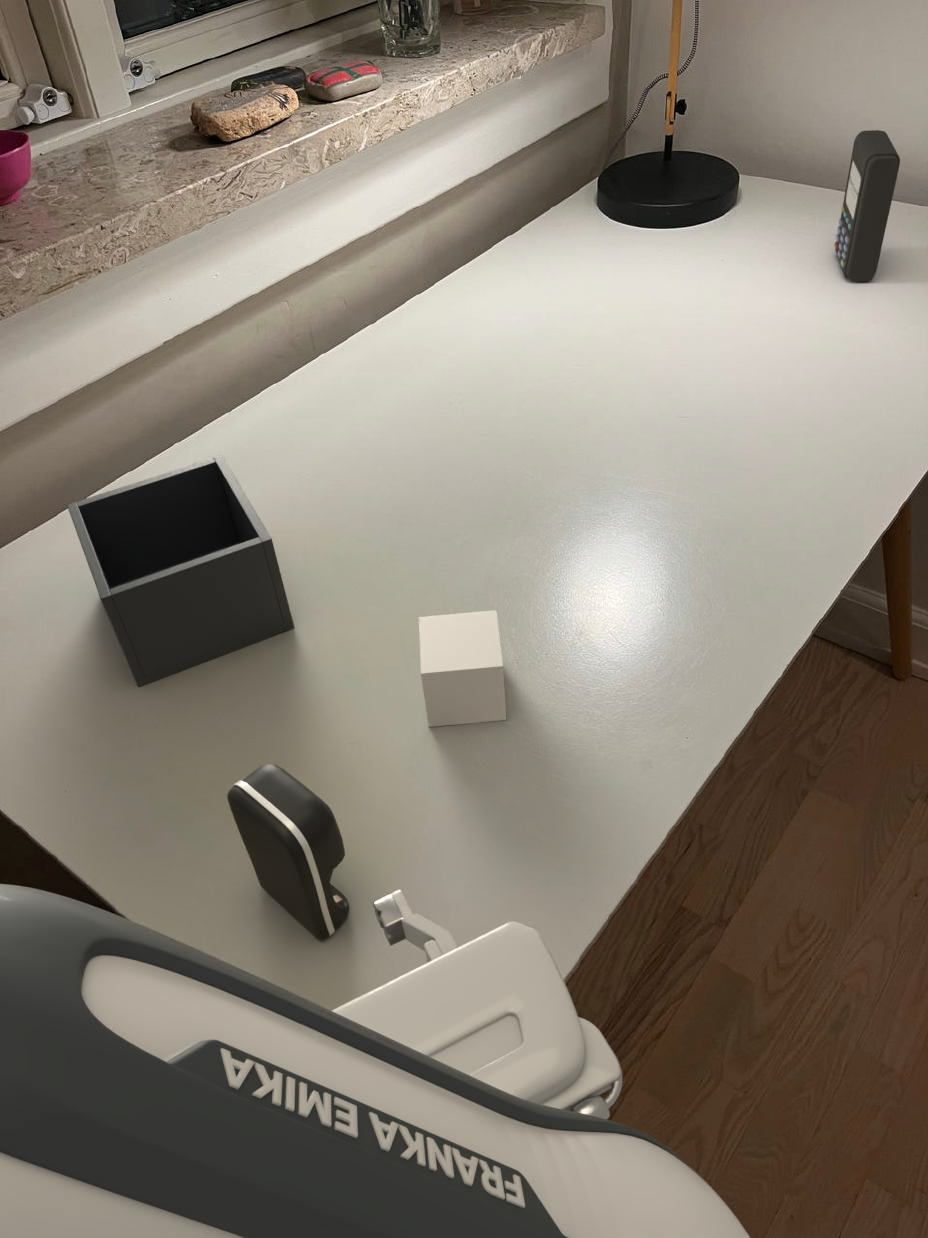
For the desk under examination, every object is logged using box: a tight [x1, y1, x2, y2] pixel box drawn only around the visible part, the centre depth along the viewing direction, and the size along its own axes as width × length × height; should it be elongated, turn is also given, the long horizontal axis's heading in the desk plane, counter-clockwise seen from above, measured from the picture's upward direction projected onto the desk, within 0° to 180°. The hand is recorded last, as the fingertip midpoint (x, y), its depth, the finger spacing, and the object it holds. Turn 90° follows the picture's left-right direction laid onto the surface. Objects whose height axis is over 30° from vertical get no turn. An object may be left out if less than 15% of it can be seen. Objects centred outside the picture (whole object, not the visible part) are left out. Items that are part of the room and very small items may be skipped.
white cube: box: [418, 609, 507, 728], centre depth 79 cm, size 6×6×6 cm
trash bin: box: [66, 454, 295, 688], centre depth 87 cm, size 14×14×10 cm
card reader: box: [833, 129, 901, 282], centre depth 123 cm, size 9×4×15 cm, turn 174°
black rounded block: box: [226, 762, 350, 941], centre depth 65 cm, size 7×4×11 cm, turn 47°
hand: (297, 944), depth 49 cm, fingers open, 8 cm apart
